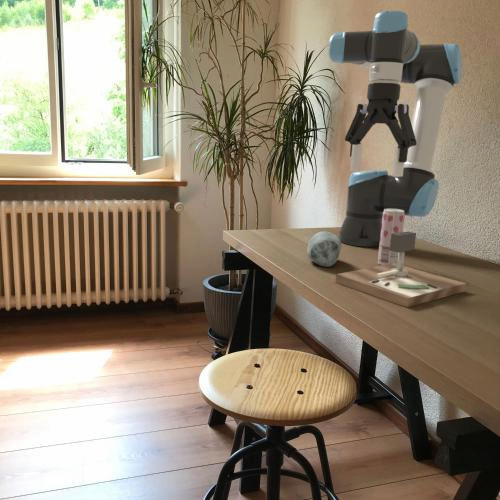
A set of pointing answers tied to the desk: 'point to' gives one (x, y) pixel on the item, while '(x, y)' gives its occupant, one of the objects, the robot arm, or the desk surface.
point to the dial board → (401, 285)
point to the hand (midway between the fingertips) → (375, 173)
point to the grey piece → (400, 252)
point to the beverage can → (389, 235)
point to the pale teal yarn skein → (324, 248)
